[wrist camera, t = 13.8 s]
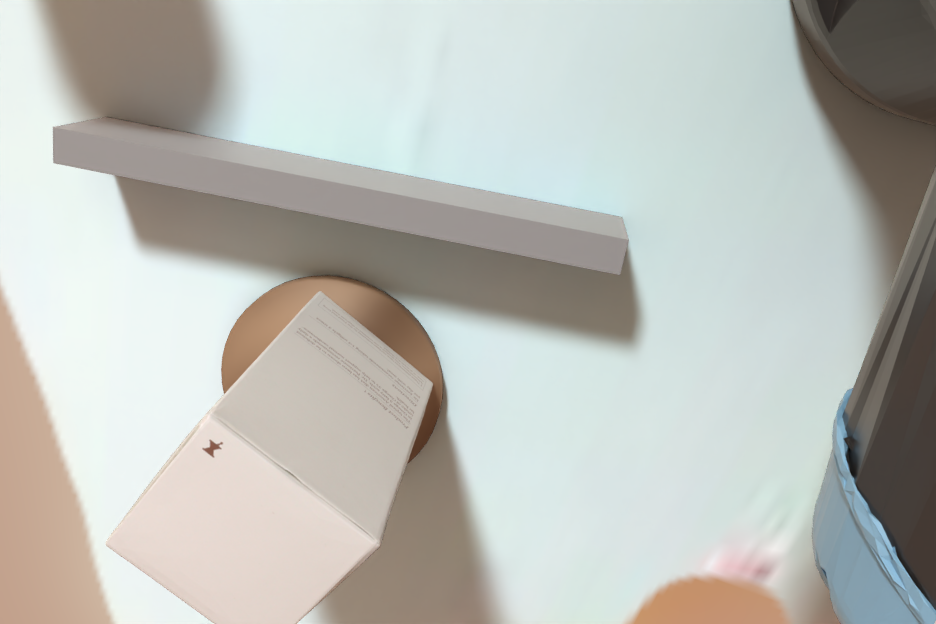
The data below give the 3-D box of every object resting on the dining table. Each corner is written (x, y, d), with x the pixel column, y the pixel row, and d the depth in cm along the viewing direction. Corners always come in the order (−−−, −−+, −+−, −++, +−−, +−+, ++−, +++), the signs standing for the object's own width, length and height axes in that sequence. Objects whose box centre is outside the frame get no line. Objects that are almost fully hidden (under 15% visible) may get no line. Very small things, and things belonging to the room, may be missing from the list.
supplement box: (233, 388, 40) (92, 542, 28) (321, 285, 37) (208, 406, 25) (347, 480, 41) (258, 666, 29) (440, 385, 38) (384, 546, 26)
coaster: (483, 349, 38) (482, 355, 37) (379, 512, 42) (376, 520, 41) (282, 233, 37) (276, 237, 37) (195, 409, 41) (188, 416, 40)
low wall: (622, 217, 35) (628, 239, 32) (614, 249, 36) (620, 275, 32) (105, 116, 37) (53, 127, 33) (105, 149, 37) (53, 163, 33)
